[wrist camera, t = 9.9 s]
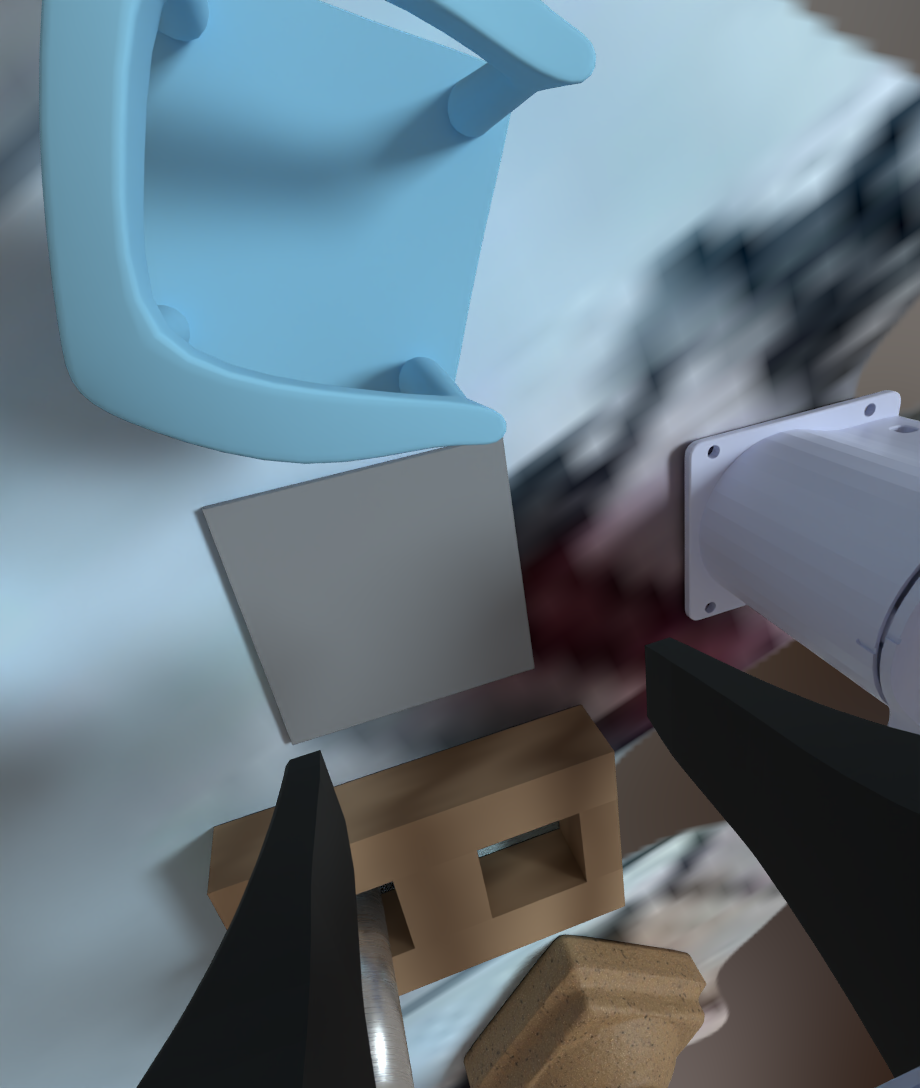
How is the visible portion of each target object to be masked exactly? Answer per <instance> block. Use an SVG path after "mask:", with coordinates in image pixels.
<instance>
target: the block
mask: <svg viewBox="0 0 920 1088" xmlns="http://www.w3.org/2000/svg"><path fill="white" fill-rule="evenodd" d="M334 790H335V793H336V795H337V798H338V801H339V804H340V807H341V809H342V812H343V815H344V818H345V821H346V826H347V832H348V837H349V843H350V848H351V854H352V860H353V866H354V874H355V888H356V895H357V894H359V893H362V892H365V891H367V890H370V889H373V888H376V887H378V886H381V885H384V884H387V883H389V882H392V881H393V883H394V886H395V889H394V890H391V891H389V892H386V893H383V894H381V895H382V901H383V907H384V913H385V919H386V925H387V931H388V936H389V942H390V948H391V954H392V960H393V966H394V972H395V978H396V983H397V989H398V995H399V996H400V995H403V994H405V993H408V992H410V991H413V990H415V989H418V988H420V987H423V986H425V985H428V984H430V983H433V982H435V981H438V980H440V979H443V978H445V977H448V976H450V975H453V974H455V973H458V972H461V971H463V970H466V969H468V968H471V967H473V966H476V965H478V964H481V963H483V962H486V961H488V960H491V959H493V958H496V957H498V956H501V955H503V954H506V953H508V952H511V951H513V950H516V949H518V948H521V947H523V946H526V945H528V944H531V943H533V942H536V941H538V940H541V939H543V938H546V937H548V936H551V935H553V934H556V933H558V932H561V931H563V930H566V929H568V928H571V927H573V926H576V925H578V924H581V923H583V922H586V921H588V920H591V919H593V918H596V917H599V916H601V915H604V914H606V913H609V912H611V911H614V910H616V909H619V908H621V907H624V906H625V898H624V884H623V870H622V856H621V842H620V829H619V828H620V827H619V813H618V799H617V785H616V771H615V757H614V750H613V749H612V748H611V746H610V745H609V743H608V742H607V740H606V739H605V738H604V736H603V735H602V733H601V732H600V731H599V729H598V728H597V726H596V725H595V723H594V722H593V721H592V719H591V718H590V716H589V715H588V713H587V712H586V711H585V709H584V708H583V706H582V705H579V706H576V707H573V708H570V709H567V710H564V711H561V712H558V713H555V714H552V715H549V716H546V717H543V718H540V719H537V720H534V721H531V722H528V723H525V724H522V725H519V726H516V727H513V728H510V729H507V730H504V731H501V732H498V733H495V734H492V735H489V736H486V737H483V738H480V739H477V740H474V741H471V742H468V743H465V744H462V745H459V746H456V747H453V748H450V749H447V750H444V751H441V752H438V753H435V754H432V755H429V756H426V757H423V758H420V759H417V760H414V761H411V762H408V763H405V764H402V765H399V766H396V767H393V768H390V769H387V770H384V771H381V772H378V773H375V774H372V775H369V776H366V777H363V778H360V779H357V780H354V781H351V782H348V783H345V784H342V785H339V786H336V787H334ZM274 809H275V807H273V808H270V809H267V810H264V811H261V812H258V813H255V814H252V815H249V816H246V817H243V818H240V819H237V820H234V821H231V822H228V823H225V824H222V825H219V826H216V827H214V831H213V841H212V851H211V861H210V871H209V881H208V891H207V895H208V896H209V898H210V900H211V902H212V904H213V906H214V907H215V909H216V911H217V913H218V915H219V917H220V918H221V920H222V922H223V924H224V926H225V927H226V929H227V930H228V928H229V926H230V923H231V921H232V919H233V917H234V915H235V912H236V910H237V908H238V906H239V903H240V901H241V899H242V896H243V894H244V891H245V889H246V886H247V884H248V882H249V879H250V877H251V874H252V872H253V869H254V867H255V864H256V862H257V859H258V856H259V854H260V851H261V848H262V845H263V842H264V839H265V836H266V834H267V831H268V828H269V825H270V822H271V819H272V816H273V812H274ZM556 821H559V827H560V829H557V830H554V831H552V832H549V833H546V834H543V835H541V836H538V837H535V838H533V839H530V840H527V841H524V842H522V843H519V844H516V845H514V846H511V847H508V848H505V849H503V850H500V851H497V852H495V853H492V854H489V855H486V856H484V857H481V858H479V857H478V853H477V850H480V849H482V848H485V847H488V846H491V845H493V844H496V843H499V842H502V841H504V840H507V839H510V838H512V837H515V836H518V835H521V834H523V833H526V832H529V831H532V830H534V829H537V828H540V827H543V826H545V825H548V824H551V823H554V822H556Z"/></svg>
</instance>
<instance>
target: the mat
mask: <svg viewBox="0 0 920 1088" xmlns="http://www.w3.org/2000/svg"><path fill="white" fill-rule="evenodd" d="M202 511H203V513H204V516H205V519H206V521H207V524H208V526H209V529H210V532H211V534H212V537H213V539H214V542H215V545H216V547H217V550H218V552H219V555H220V558H221V560H222V563H223V565H224V568H225V571H226V573H227V576H228V578H229V581H230V584H231V586H232V589H233V591H234V594H235V597H236V599H237V602H238V604H239V607H240V610H241V612H242V615H243V617H244V620H245V623H246V625H247V628H248V630H249V633H250V636H251V638H252V641H253V643H254V646H255V649H256V651H257V654H258V656H259V659H260V662H261V664H262V667H263V669H264V672H265V675H266V677H267V680H268V682H269V685H270V688H271V690H272V693H273V695H274V698H275V701H276V703H277V706H278V708H279V711H280V714H281V716H282V719H283V721H284V724H285V727H286V729H287V732H288V734H289V737H290V740H291V742H292V745H295V744H298V743H301V742H305V741H308V740H311V739H314V738H317V737H320V736H323V735H327V734H330V733H333V732H336V731H339V730H342V729H345V728H349V727H352V726H355V725H358V724H361V723H364V722H367V721H371V720H374V719H377V718H380V717H383V716H386V715H389V714H393V713H396V712H399V711H402V710H405V709H408V708H411V707H415V706H418V705H421V704H424V703H427V702H430V701H433V700H437V699H440V698H443V697H446V696H449V695H452V694H455V693H459V692H462V691H465V690H468V689H471V688H474V687H477V686H481V685H484V684H487V683H490V682H493V681H496V680H499V679H503V678H506V677H509V676H512V675H515V674H518V673H521V672H525V671H528V670H531V669H534V661H533V654H532V646H531V639H530V632H529V625H528V617H527V610H526V603H525V596H524V588H523V581H522V574H521V567H520V559H519V552H518V545H517V538H516V530H515V523H514V516H513V509H512V501H511V494H510V487H509V480H508V472H507V465H506V458H505V450H504V443H503V437H502V438H501V439H500V440H499V441H497V442H495V443H491V444H485V445H457V446H448V447H444V448H440V449H436V450H432V451H428V452H424V453H420V454H416V455H411V456H407V457H403V458H399V459H395V460H391V461H387V462H383V463H379V464H375V465H371V466H367V467H363V468H359V469H355V470H351V471H347V472H343V473H339V474H334V475H330V476H326V477H322V478H318V479H314V480H310V481H306V482H302V483H298V484H294V485H290V486H286V487H282V488H278V489H274V490H270V491H266V492H262V493H258V494H253V495H249V496H245V497H241V498H237V499H233V500H229V501H225V502H221V503H217V504H213V505H209V506H205V507H203V509H202Z"/></svg>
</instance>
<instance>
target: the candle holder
mask: <svg viewBox="0 0 920 1088" xmlns="http://www.w3.org/2000/svg"><path fill="white" fill-rule="evenodd" d="M705 986H706V982H705V981H704V979H703V977H702V975H701V974H700V972H699V970H698V969H697V967H696V965H695V963H694V962H693V960H692V958H691V957H690V955H689V954H687V953H684V952H680V951H675V950H670V949H664V948H657V947H650V946H644V945H637V944H631V943H624V942H618V941H611V940H605V939H598V938H591V937H584V936H573V935H564V936H560V937H559V938H557V939H556V940H555V941H554V942H553V943H552V944H551V945H550V947H549V948H548V949H547V950H546V951H545V953H544V954H543V955H542V956H541V957H540V959H539V960H538V961H537V962H536V964H535V965H534V966H533V968H532V969H531V970H530V972H529V973H528V974H527V975H526V977H525V978H524V979H523V981H522V982H521V983H520V984H519V986H518V987H517V988H516V990H515V991H514V992H513V994H512V995H511V996H510V997H509V999H508V1000H507V1001H506V1003H505V1004H504V1005H503V1007H502V1008H501V1009H500V1010H499V1012H498V1013H497V1014H496V1016H495V1017H494V1018H493V1019H492V1021H491V1022H490V1023H489V1025H488V1026H487V1027H486V1029H485V1030H484V1031H483V1032H482V1034H481V1035H480V1036H479V1038H478V1039H477V1040H476V1042H475V1043H474V1045H473V1046H472V1047H471V1049H470V1050H469V1052H468V1053H467V1055H466V1056H465V1059H464V1064H465V1068H466V1072H467V1076H468V1080H469V1084H470V1088H667V1087H668V1085H669V1082H670V1080H671V1077H672V1074H673V1071H674V1067H675V1063H676V1057H677V1056H678V1055H679V1053H680V1052H681V1051H682V1050H683V1049H684V1047H685V1046H686V1045H687V1044H688V1043H689V1041H690V1040H691V1039H692V1038H693V1036H694V1035H695V1034H696V1032H697V1031H698V1030H699V1029H700V1027H701V1026H702V1024H703V1022H704V1015H705V1014H704V1012H703V1010H702V1009H701V1007H700V1005H699V1002H698V998H699V995H700V994H701V992H702V991H703V989H704V987H705Z"/></svg>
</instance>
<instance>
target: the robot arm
mask: <svg viewBox="0 0 920 1088" xmlns="http://www.w3.org/2000/svg"><path fill="white" fill-rule="evenodd" d="M900 403H901V397H900V395H899V393H897V392H895V391H890V390H885V391H881V392H877V393H874V394H870V395H866V396H862V397H858V398H854V399H851V400H847V401H843V402H839V403H835V404H832V405H828V406H824V407H820V408H816V409H813V410H809V411H805V412H801V413H797V414H794V415H790V416H786V417H782V418H779V419H775V420H771V421H767V422H763V423H760V424H756V425H752V426H748V427H744V428H741V429H737V430H733V431H729V432H725V433H722V434H718V435H714V436H710V437H706V438H703V439H699V440H696V441H694V442H692V443H691V444H690V445H689V446H688V447H687V449H686V452H685V613H686V614H687V615H688V616H689V617H690V618H691V619H692V620H701V619H704V618H707V617H710V616H713V615H716V614H719V613H723V612H726V611H729V610H732V609H735V608H738V607H741V606H745V605H748V606H750V607H751V608H752V609H754V610H755V611H757V612H758V613H759V614H761V615H762V616H763V617H765V618H766V619H768V620H769V621H770V622H772V623H773V624H775V625H776V626H777V627H779V628H780V629H782V630H783V631H784V632H786V633H787V634H788V635H790V636H791V637H793V638H794V639H795V640H797V641H798V642H800V643H801V644H803V645H804V646H805V647H807V648H808V649H810V650H811V651H812V652H814V653H815V654H816V655H818V656H819V657H820V658H822V659H823V660H825V661H826V662H828V663H829V664H830V665H832V666H833V667H834V668H836V669H837V670H839V671H840V672H841V673H843V674H844V675H845V676H847V677H848V678H850V679H851V680H853V681H854V682H855V683H857V684H858V685H859V686H861V687H862V688H864V689H865V690H866V691H868V692H869V693H871V694H872V695H873V696H875V697H876V698H878V699H879V700H880V701H882V702H883V703H884V704H886V705H887V706H889V708H890V719H889V723H888V726H885V725H882V724H878V723H875V722H872V721H868V720H865V719H862V718H859V717H856V716H853V715H850V714H847V713H844V712H841V711H838V710H835V709H832V708H829V707H827V706H824V705H821V704H818V703H816V702H813V701H810V700H808V699H806V698H803V697H801V696H798V695H796V694H793V693H791V692H788V691H786V690H783V689H781V688H778V687H776V686H774V685H771V684H769V683H767V682H765V681H762V680H760V679H758V678H756V677H753V676H751V675H749V674H747V673H745V672H742V671H740V670H738V669H736V668H734V667H732V666H730V665H727V664H725V663H723V662H721V661H719V660H717V659H715V658H713V657H711V656H709V655H706V654H704V653H702V652H700V651H698V650H696V649H694V648H692V647H690V646H688V645H685V644H683V643H681V642H679V641H677V640H674V639H672V638H667V639H664V640H661V641H657V642H654V643H651V644H648V645H645V663H646V691H647V717H648V718H649V720H650V721H651V723H652V725H653V726H654V728H655V729H656V731H657V733H658V734H659V736H660V737H661V739H662V741H663V742H664V744H665V745H666V746H667V748H668V749H669V751H670V753H671V754H672V756H673V757H674V758H675V760H676V761H677V762H678V763H679V764H680V766H681V767H682V768H683V769H684V771H685V772H686V773H687V774H688V775H689V777H690V778H691V779H692V780H693V781H694V783H695V784H696V785H697V786H698V788H699V789H700V790H701V791H702V792H703V794H704V795H705V796H706V797H707V798H708V799H709V801H710V802H711V803H712V804H713V805H714V807H715V808H716V809H717V810H718V811H719V813H720V814H721V815H722V816H723V817H724V819H725V820H726V821H727V822H728V823H729V825H730V826H731V827H732V828H733V829H734V831H735V832H736V833H737V834H738V835H739V837H740V838H741V839H742V840H743V841H744V843H745V844H746V845H747V847H748V848H749V849H750V851H751V852H752V853H753V854H754V856H755V857H756V858H757V860H758V861H759V863H760V864H761V865H762V867H763V868H764V870H765V871H766V873H767V874H768V876H769V877H770V879H771V880H772V881H773V883H774V884H775V886H776V887H777V889H778V890H779V892H780V893H781V894H782V896H783V897H784V899H785V900H786V902H787V903H788V905H789V906H790V908H791V909H792V911H793V912H794V914H795V915H796V917H797V918H798V920H799V921H800V923H801V925H802V926H803V928H804V929H805V931H806V932H807V934H808V935H809V937H810V938H811V940H812V941H813V943H814V944H815V946H816V948H817V949H818V951H819V952H820V954H821V955H822V957H823V958H824V960H825V962H826V963H827V965H828V967H829V968H830V970H831V972H832V973H833V975H834V976H835V978H836V979H837V981H838V983H839V984H840V986H841V988H842V989H843V991H844V992H845V994H846V996H847V997H848V999H849V1001H850V1002H851V1004H852V1005H853V1007H854V1009H855V1011H856V1012H857V1014H858V1016H859V1017H860V1019H861V1021H862V1023H863V1024H864V1026H865V1028H866V1029H867V1031H868V1033H869V1034H870V1036H871V1038H872V1039H873V1041H874V1043H875V1045H876V1046H877V1048H878V1050H879V1052H880V1053H881V1055H882V1057H883V1058H884V1060H885V1062H886V1063H887V1065H888V1067H889V1069H890V1070H891V1072H892V1074H893V1076H894V1079H892V1080H890V1081H889V1082H886V1083H884V1084H882V1085H880V1086H878V1087H876V1088H920V421H917V420H912V419H908V418H904V417H900V416H898V415H899V409H900ZM866 407H867V409H866V411H865V408H866ZM864 411H865V412H864ZM712 446H713V447H714V448H713V451H712V453H711V454H710V455H708V450H709V449H710V447H712ZM708 603H710V604H709V605H708V607H706V605H707V604H708ZM705 607H706V608H705ZM137 1088H376V1083H375V1077H374V1070H373V1064H372V1057H371V1051H370V1044H369V1038H368V1031H367V1025H366V1018H365V1010H364V1001H363V991H362V978H361V962H360V947H359V932H358V917H357V902H356V888H355V874H354V866H353V860H352V854H351V848H350V843H349V837H348V832H347V826H346V821H345V818H344V815H343V812H342V809H341V807H340V804H339V801H338V798H337V795H336V793H335V790H334V787H333V784H332V782H331V779H330V776H329V773H328V770H327V768H326V765H325V762H324V759H323V756H322V754H321V751H320V750H319V751H316V752H313V753H309V754H306V755H303V756H300V757H297V758H294V759H291V760H289V762H288V763H287V765H286V768H285V772H284V777H283V781H282V784H281V788H280V792H279V796H278V799H277V803H276V806H275V809H274V812H273V816H272V819H271V822H270V825H269V828H268V831H267V834H266V836H265V839H264V842H263V845H262V848H261V851H260V854H259V856H258V859H257V862H256V864H255V867H254V869H253V872H252V874H251V877H250V879H249V882H248V884H247V886H246V889H245V891H244V894H243V896H242V899H241V901H240V903H239V906H238V908H237V910H236V912H235V915H234V917H233V919H232V921H231V923H230V926H229V928H228V930H227V932H226V934H225V936H224V938H223V940H222V942H221V944H220V946H219V948H218V950H217V952H216V954H215V956H214V958H213V960H212V962H211V964H210V966H209V968H208V970H207V971H206V973H205V975H204V977H203V979H202V981H201V982H200V984H199V986H198V988H197V990H196V992H195V993H194V995H193V997H192V999H191V1001H190V1002H189V1004H188V1006H187V1008H186V1009H185V1011H184V1013H183V1015H182V1016H181V1018H180V1020H179V1021H178V1023H177V1025H176V1026H175V1028H174V1030H173V1031H172V1033H171V1034H170V1036H169V1038H168V1039H167V1041H166V1042H165V1044H164V1045H163V1047H162V1049H161V1050H160V1052H159V1053H158V1055H157V1056H156V1058H155V1060H154V1061H153V1063H152V1064H151V1066H150V1067H149V1069H148V1071H147V1072H146V1074H145V1075H144V1077H143V1078H142V1080H141V1082H140V1083H139V1085H138V1086H137Z"/></svg>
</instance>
